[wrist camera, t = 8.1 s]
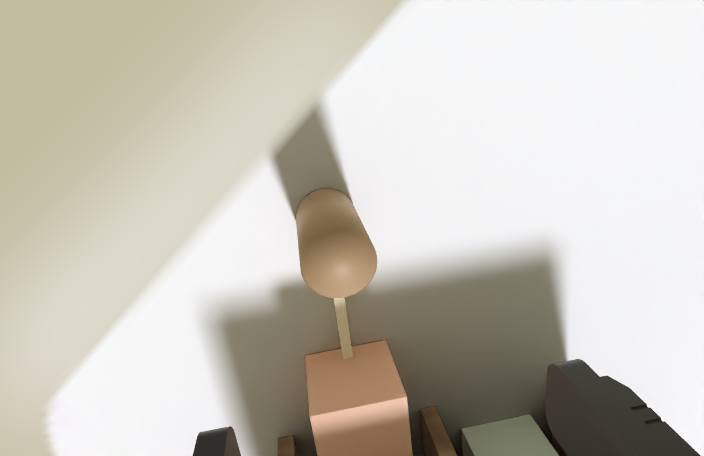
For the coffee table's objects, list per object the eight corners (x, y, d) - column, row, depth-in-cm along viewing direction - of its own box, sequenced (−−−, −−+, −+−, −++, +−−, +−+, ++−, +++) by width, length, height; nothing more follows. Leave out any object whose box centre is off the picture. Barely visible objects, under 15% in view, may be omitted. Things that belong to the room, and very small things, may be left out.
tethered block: (368, 181, 24) (394, 218, 18) (392, 403, 29) (419, 484, 24) (274, 196, 23) (271, 238, 18) (317, 419, 29) (325, 505, 23)
